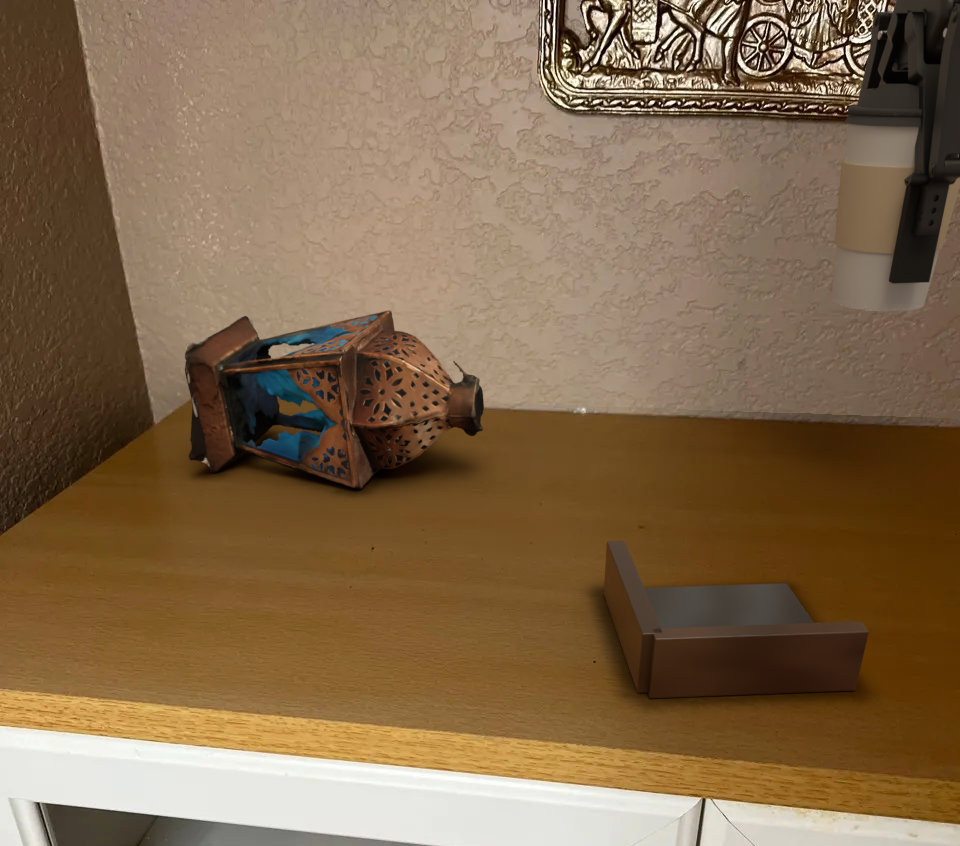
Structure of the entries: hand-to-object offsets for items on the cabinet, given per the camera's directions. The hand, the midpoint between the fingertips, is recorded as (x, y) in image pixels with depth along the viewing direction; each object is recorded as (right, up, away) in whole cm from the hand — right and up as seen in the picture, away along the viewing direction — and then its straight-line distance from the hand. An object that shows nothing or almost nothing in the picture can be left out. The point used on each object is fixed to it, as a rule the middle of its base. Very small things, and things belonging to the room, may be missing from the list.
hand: (883, 269), depth 76 cm
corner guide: (-16, -28, -14) cm, 35 cm away
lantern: (-43, -13, +12) cm, 47 cm away
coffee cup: (0, -2, +1) cm, 3 cm away
